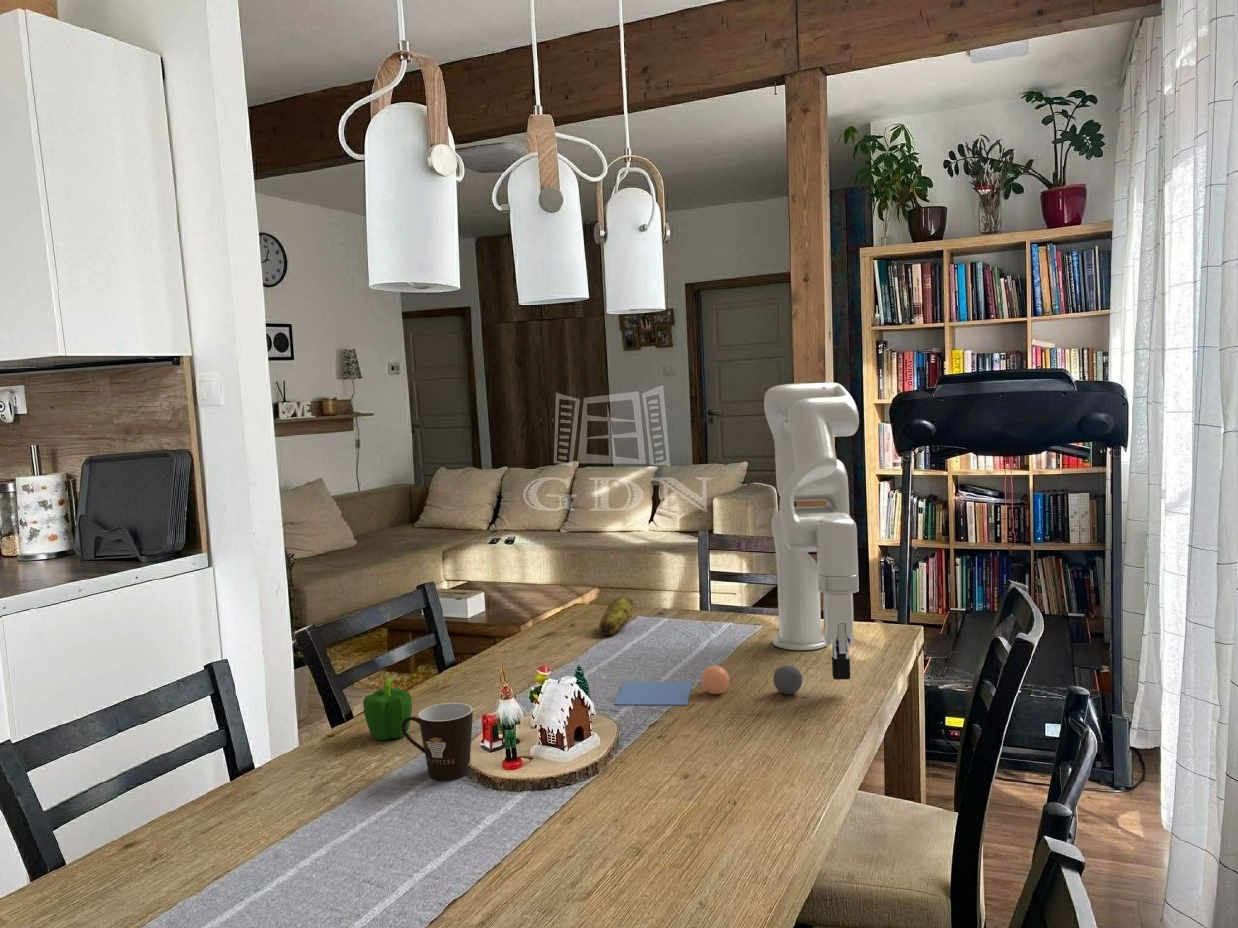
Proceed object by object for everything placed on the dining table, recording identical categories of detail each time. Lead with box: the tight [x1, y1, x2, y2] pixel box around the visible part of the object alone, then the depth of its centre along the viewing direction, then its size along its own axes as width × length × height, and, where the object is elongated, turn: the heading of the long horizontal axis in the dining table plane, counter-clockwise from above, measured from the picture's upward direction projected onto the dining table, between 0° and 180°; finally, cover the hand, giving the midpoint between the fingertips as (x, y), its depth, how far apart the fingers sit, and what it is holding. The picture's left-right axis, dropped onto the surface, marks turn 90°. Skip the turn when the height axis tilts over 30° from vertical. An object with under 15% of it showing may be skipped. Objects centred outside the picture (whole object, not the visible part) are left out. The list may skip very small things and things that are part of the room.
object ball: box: [700, 665, 730, 695], centre depth 183 cm, size 6×6×6 cm
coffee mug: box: [402, 702, 474, 782], centre depth 150 cm, size 12×9×10 cm
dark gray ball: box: [772, 664, 803, 695], centre depth 181 cm, size 6×6×6 cm
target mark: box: [614, 681, 693, 706], centre depth 185 cm, size 14×14×1 cm
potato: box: [598, 596, 635, 636], centre depth 235 cm, size 8×13×8 cm, turn 137°
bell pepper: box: [362, 677, 413, 741], centre depth 167 cm, size 8×8×10 cm
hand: (841, 677), depth 179 cm, fingers closed
